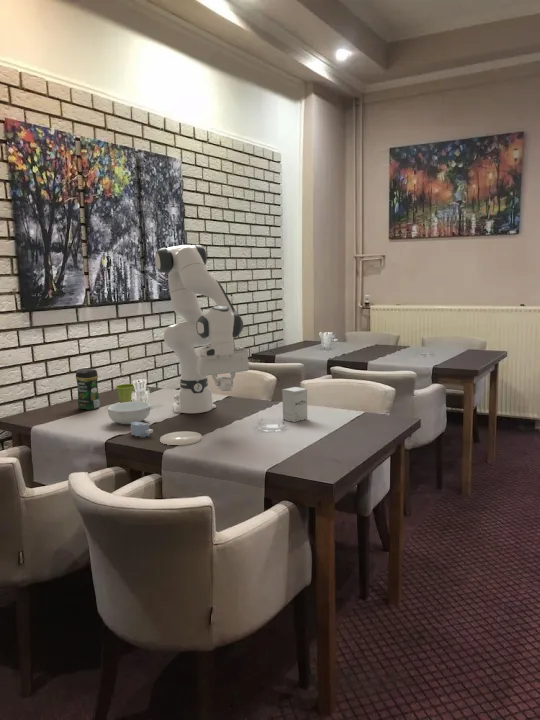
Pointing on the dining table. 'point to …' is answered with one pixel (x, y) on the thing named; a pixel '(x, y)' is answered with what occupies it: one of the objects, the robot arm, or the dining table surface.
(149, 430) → the blue connector
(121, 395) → the plant pot
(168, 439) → the saucer
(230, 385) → the grey connector
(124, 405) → the cereal bowl
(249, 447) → the dining table surface
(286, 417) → the supplement box
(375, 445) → the dining table surface
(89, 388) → the coffee jar
